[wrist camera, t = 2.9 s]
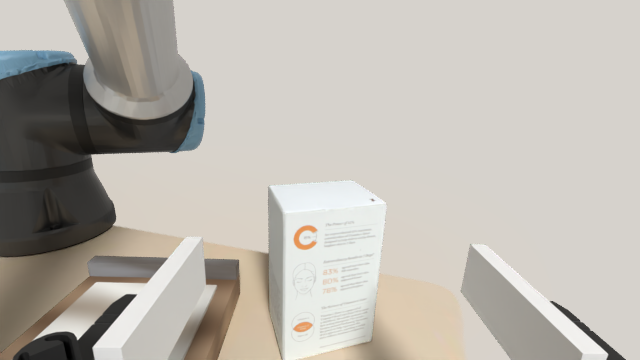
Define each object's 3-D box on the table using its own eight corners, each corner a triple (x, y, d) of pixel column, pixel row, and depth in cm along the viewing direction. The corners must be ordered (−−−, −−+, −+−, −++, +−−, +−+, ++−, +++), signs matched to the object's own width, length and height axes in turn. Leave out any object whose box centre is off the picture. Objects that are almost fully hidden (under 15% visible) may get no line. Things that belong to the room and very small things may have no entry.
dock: (101, 290, 32) (95, 255, 30) (239, 293, 32) (238, 259, 31) (-52, 440, 18) (-74, 389, 17) (189, 441, 19) (183, 392, 18)
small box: (344, 296, 33) (354, 178, 29) (373, 343, 27) (390, 203, 23) (267, 311, 30) (267, 183, 26) (281, 366, 24) (283, 212, 20)
